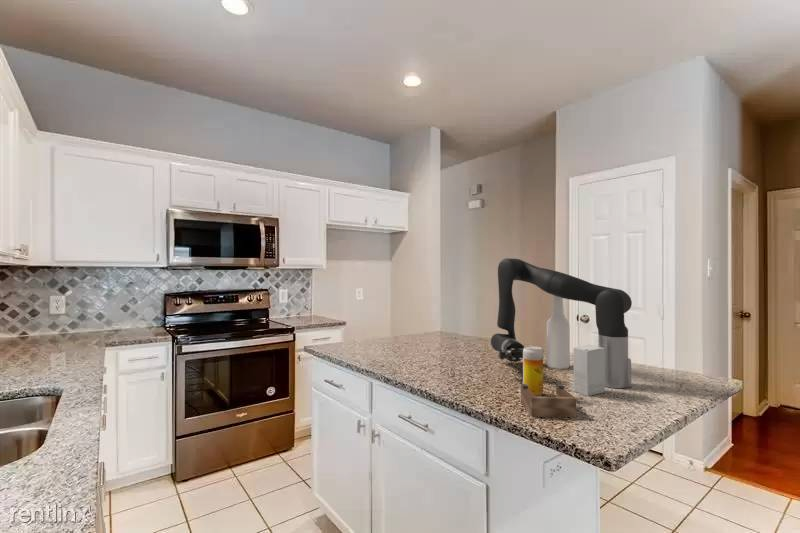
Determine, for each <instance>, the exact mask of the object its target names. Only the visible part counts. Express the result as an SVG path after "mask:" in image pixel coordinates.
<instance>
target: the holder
mask: <svg viewBox="0 0 800 533" xmlns="http://www.w3.org/2000/svg"><path fill="white" fill-rule="evenodd" d="M555 395H556V396H539V397H536V396H535V395H534V394H533V393H532V392H531V391H530V390H529V389H528V385H527V384H523V383H521V385H520V403H522V404H521V405H522V406H523V407H524V409H525V408H526V409H525V410H526V411H527V413H528V414H529V415H530V417H540V418H543V417H544V418H545V417H547V418H548V417H549V418H577V397H575V396H574V395H572V394H571V393H570V392H568V390H566V389H565V385H563V384H561V383H560V384H557V383H556V387H555Z"/></svg>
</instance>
